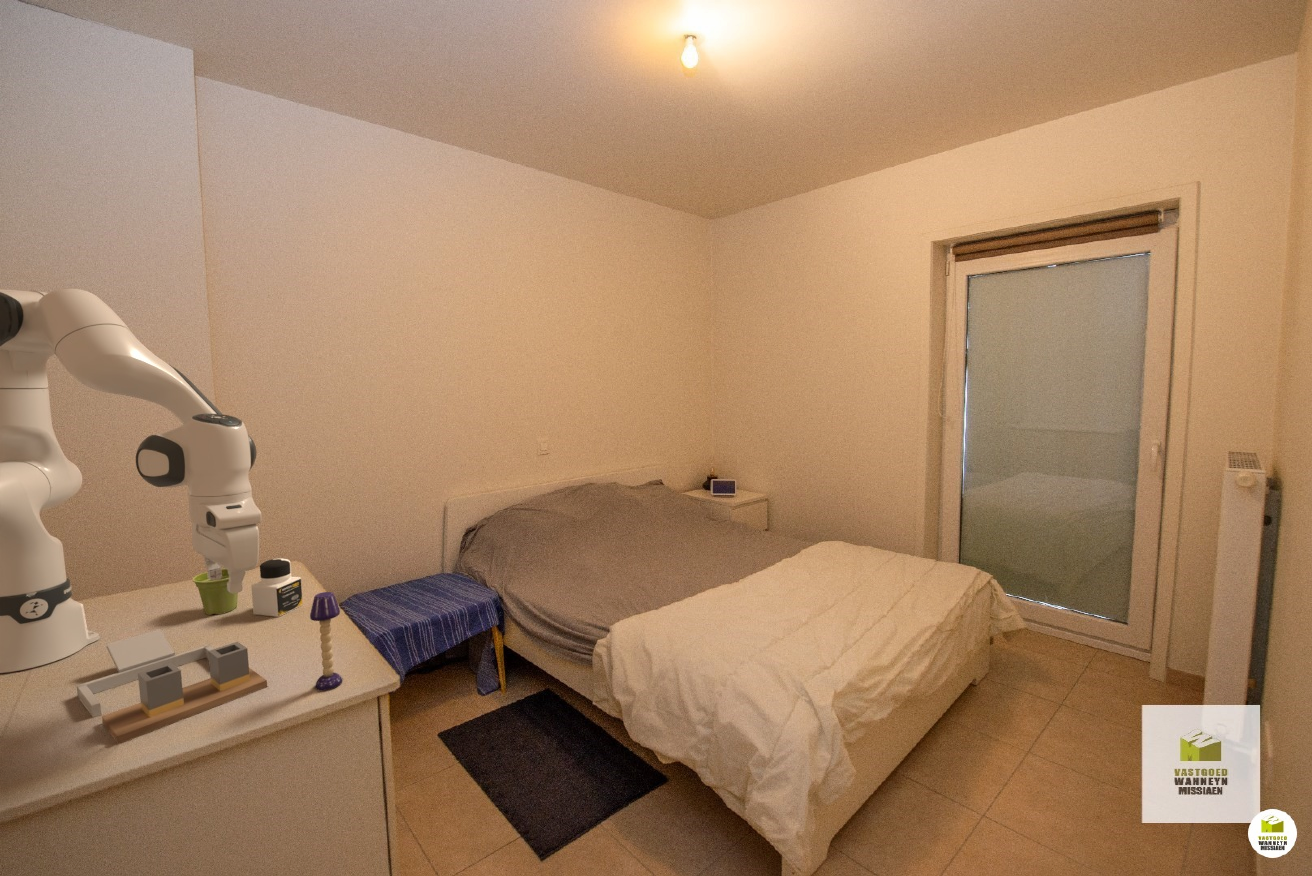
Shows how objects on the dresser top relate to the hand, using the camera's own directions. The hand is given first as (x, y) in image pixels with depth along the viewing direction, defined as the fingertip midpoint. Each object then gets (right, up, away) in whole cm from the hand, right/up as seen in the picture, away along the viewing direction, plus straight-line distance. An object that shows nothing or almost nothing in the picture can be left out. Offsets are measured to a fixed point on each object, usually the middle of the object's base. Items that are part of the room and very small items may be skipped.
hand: (224, 585), depth 103 cm
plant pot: (-27, -15, +35) cm, 47 cm away
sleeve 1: (-5, -18, -7) cm, 20 cm away
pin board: (-3, -19, -4) cm, 20 cm away
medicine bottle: (-13, -15, +35) cm, 41 cm away
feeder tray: (-17, -18, +5) cm, 26 cm away
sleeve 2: (+1, -17, +1) cm, 17 cm away
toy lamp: (+17, -19, +3) cm, 25 cm away
